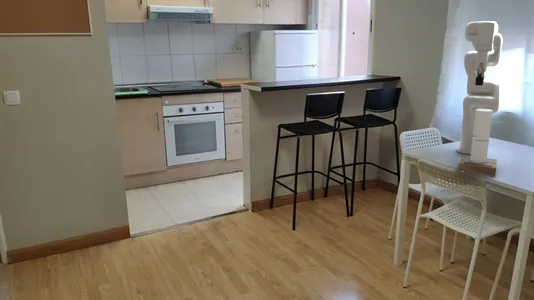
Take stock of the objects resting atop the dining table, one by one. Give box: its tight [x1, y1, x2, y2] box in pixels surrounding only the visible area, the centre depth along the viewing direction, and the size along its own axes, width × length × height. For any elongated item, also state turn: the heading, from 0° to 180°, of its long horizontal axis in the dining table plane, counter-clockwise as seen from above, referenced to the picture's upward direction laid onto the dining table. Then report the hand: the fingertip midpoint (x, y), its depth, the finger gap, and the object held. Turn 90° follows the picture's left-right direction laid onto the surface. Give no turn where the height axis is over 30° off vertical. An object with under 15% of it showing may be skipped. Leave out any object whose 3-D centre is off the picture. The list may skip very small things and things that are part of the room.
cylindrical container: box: [469, 109, 493, 163], centre depth 200 cm, size 7×7×25 cm
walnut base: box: [457, 155, 498, 177], centre depth 204 cm, size 16×16×4 cm
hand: (479, 84), depth 205 cm, fingers open, 9 cm apart
